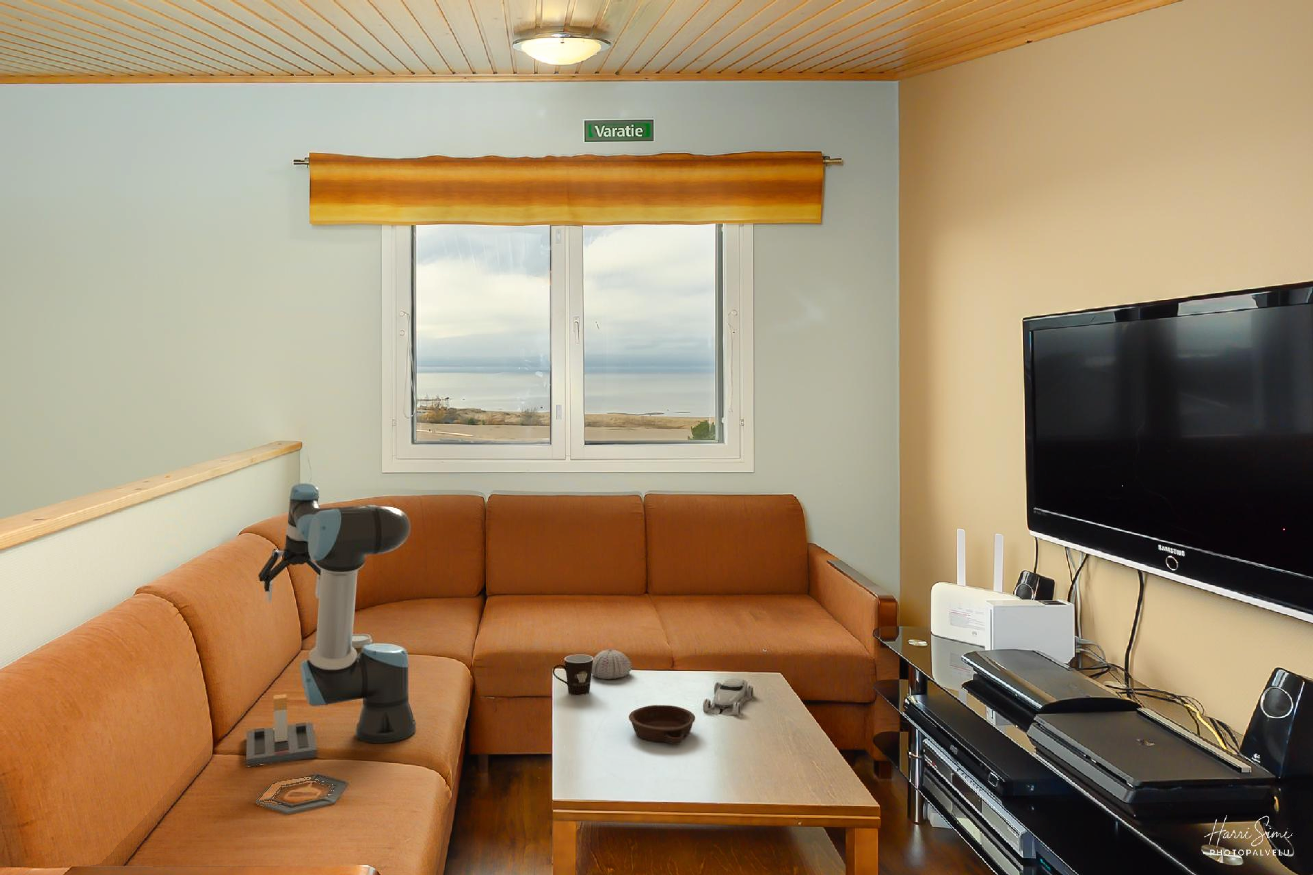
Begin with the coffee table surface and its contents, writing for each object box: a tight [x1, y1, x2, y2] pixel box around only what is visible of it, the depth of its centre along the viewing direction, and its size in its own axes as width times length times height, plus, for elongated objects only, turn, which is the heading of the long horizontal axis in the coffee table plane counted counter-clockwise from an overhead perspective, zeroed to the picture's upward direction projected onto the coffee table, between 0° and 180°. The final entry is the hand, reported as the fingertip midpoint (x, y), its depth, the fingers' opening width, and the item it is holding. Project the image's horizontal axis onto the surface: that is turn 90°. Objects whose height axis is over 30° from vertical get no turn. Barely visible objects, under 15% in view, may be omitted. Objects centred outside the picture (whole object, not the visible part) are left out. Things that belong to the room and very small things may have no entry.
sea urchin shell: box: [591, 649, 633, 680], centre depth 300 cm, size 13×14×8 cm
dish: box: [628, 704, 696, 745], centre depth 251 cm, size 18×22×5 cm
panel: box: [245, 722, 318, 767], centre depth 240 cm, size 20×16×3 cm
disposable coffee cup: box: [352, 633, 373, 653], centre depth 299 cm, size 10×10×12 cm
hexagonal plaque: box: [254, 772, 349, 815], centre depth 213 cm, size 17×20×1 cm
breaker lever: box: [273, 693, 288, 742], centre depth 240 cm, size 3×3×11 cm
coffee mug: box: [552, 654, 594, 696], centre depth 284 cm, size 12×9×10 cm
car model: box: [702, 678, 754, 717], centre depth 276 cm, size 11×24×5 cm, turn 162°
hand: (293, 597), depth 280 cm, fingers open, 13 cm apart
